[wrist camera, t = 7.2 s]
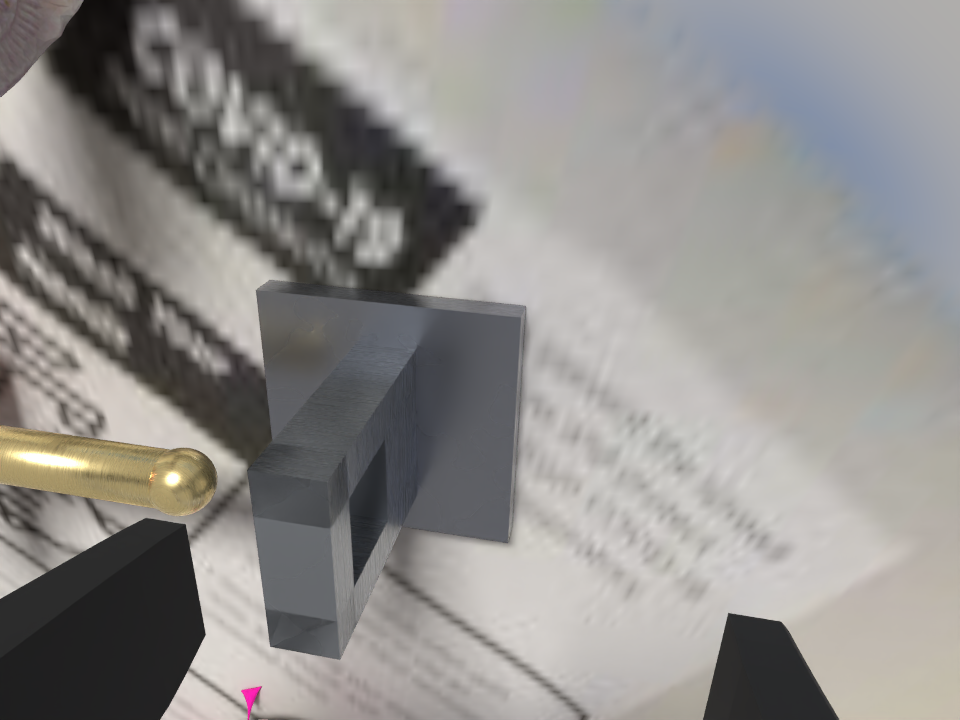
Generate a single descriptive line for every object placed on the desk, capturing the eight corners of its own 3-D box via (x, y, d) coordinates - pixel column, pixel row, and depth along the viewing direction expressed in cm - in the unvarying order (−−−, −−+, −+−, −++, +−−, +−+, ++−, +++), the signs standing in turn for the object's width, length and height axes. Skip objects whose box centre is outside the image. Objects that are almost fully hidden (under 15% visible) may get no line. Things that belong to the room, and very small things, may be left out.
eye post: (525, 305, 19) (470, 446, 13) (512, 525, 22) (462, 722, 16) (269, 279, 20) (107, 397, 14) (291, 492, 23) (165, 664, 17)
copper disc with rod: (264, 300, 19) (86, 437, 13) (287, 515, 22) (150, 708, 16) (-110, 260, 21) (-420, 364, 15) (-43, 463, 24) (-277, 618, 18)
